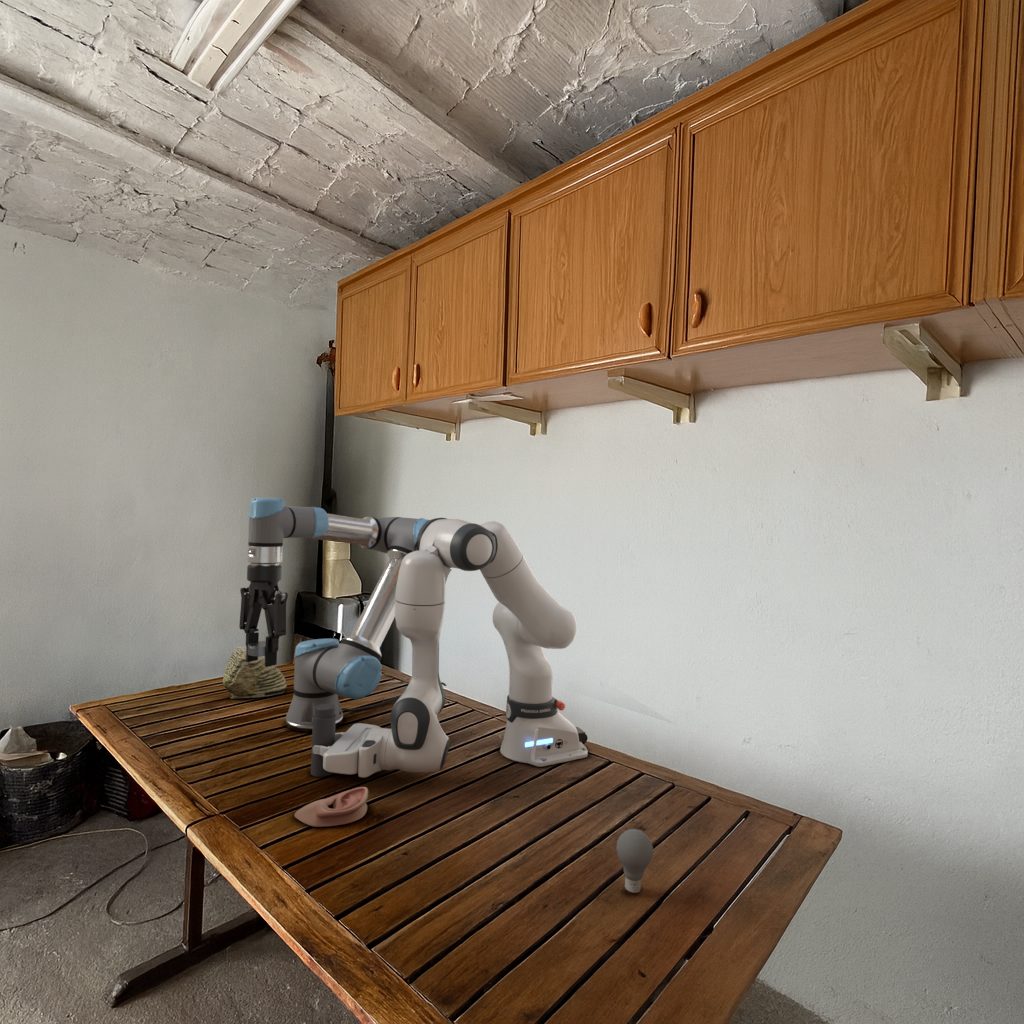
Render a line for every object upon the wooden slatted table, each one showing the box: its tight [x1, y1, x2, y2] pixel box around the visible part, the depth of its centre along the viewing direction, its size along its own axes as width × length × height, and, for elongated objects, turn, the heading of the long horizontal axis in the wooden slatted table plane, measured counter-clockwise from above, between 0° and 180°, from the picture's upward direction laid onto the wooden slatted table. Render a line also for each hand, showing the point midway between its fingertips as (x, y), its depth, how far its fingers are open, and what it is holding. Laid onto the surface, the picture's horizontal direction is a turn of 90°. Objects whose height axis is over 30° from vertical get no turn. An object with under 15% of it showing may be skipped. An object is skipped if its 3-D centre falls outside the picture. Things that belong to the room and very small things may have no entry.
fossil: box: [222, 646, 288, 699], centre depth 198 cm, size 9×18×15 cm, turn 132°
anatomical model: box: [294, 786, 369, 828], centre depth 127 cm, size 13×4×12 cm
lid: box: [248, 640, 266, 656], centre depth 147 cm, size 6×6×2 cm
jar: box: [310, 704, 336, 778], centre depth 145 cm, size 5×5×15 cm
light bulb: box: [615, 828, 654, 894], centre depth 106 cm, size 6×6×10 cm
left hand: (261, 662), depth 147 cm, fingers closed on lid, 6 cm apart
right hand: (319, 743), depth 145 cm, fingers closed on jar, 5 cm apart
